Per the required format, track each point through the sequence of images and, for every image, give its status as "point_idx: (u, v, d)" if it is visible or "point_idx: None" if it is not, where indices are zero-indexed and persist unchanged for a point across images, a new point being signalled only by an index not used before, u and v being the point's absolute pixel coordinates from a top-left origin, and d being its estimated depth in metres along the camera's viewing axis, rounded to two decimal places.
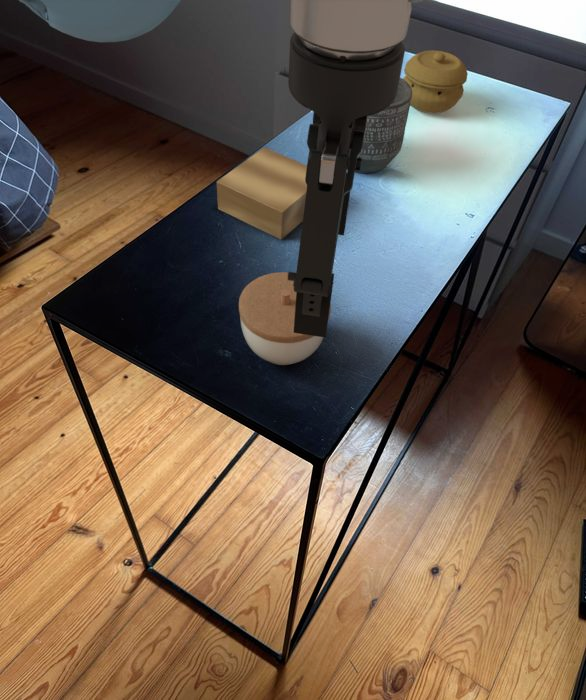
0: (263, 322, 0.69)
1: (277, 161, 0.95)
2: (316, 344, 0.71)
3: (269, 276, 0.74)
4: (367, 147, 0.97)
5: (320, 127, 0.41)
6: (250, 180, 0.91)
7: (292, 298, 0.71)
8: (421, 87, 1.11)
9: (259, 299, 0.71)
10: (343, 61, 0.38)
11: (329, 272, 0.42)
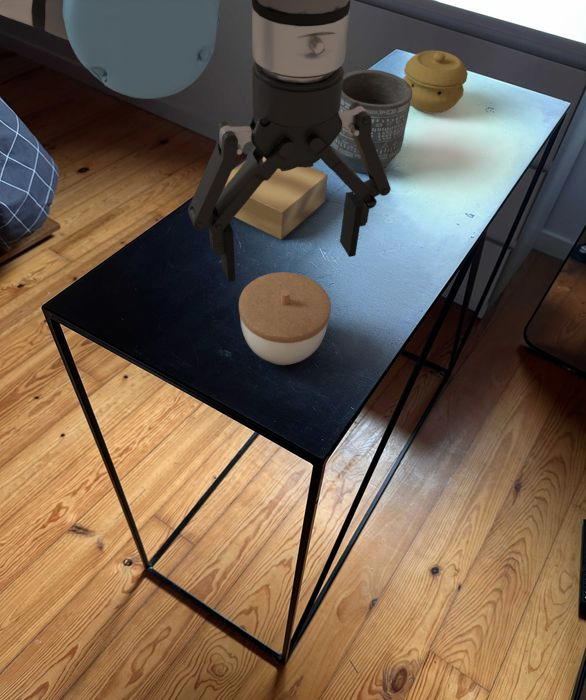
0: (263, 322, 0.69)
1: None
2: (316, 344, 0.71)
3: (269, 276, 0.74)
4: None
5: None
6: None
7: (292, 298, 0.71)
8: (421, 87, 1.11)
9: (259, 299, 0.71)
10: (260, 70, 0.49)
11: (199, 211, 0.56)
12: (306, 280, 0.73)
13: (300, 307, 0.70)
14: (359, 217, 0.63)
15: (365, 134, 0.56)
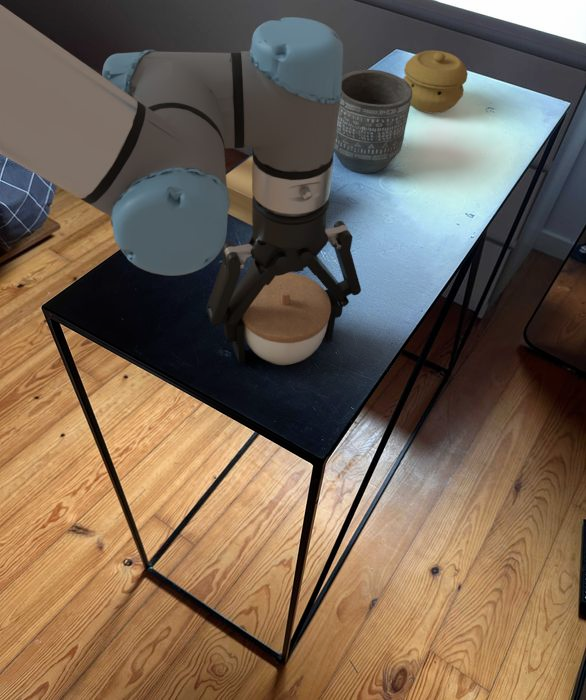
0: (263, 322, 0.69)
1: None
2: (316, 344, 0.71)
3: None
4: (367, 147, 0.97)
5: (253, 233, 0.63)
6: (250, 180, 0.91)
7: (292, 298, 0.71)
8: (421, 87, 1.11)
9: (259, 299, 0.71)
10: (259, 203, 0.59)
11: (214, 312, 0.67)
12: (306, 280, 0.73)
13: (300, 307, 0.70)
14: (334, 312, 0.73)
15: (345, 248, 0.66)
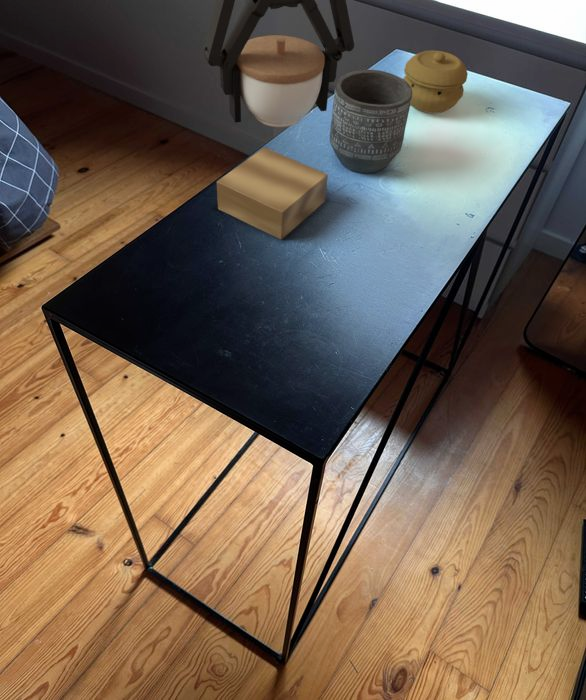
0: (259, 65, 0.71)
1: (277, 161, 0.95)
2: (310, 95, 0.73)
3: (265, 37, 0.76)
4: (367, 147, 0.97)
5: None
6: (250, 180, 0.91)
7: (287, 50, 0.73)
8: (421, 87, 1.11)
9: (255, 50, 0.73)
10: None
11: (211, 47, 0.69)
12: (301, 40, 0.75)
13: (294, 56, 0.72)
14: (328, 70, 0.75)
15: None
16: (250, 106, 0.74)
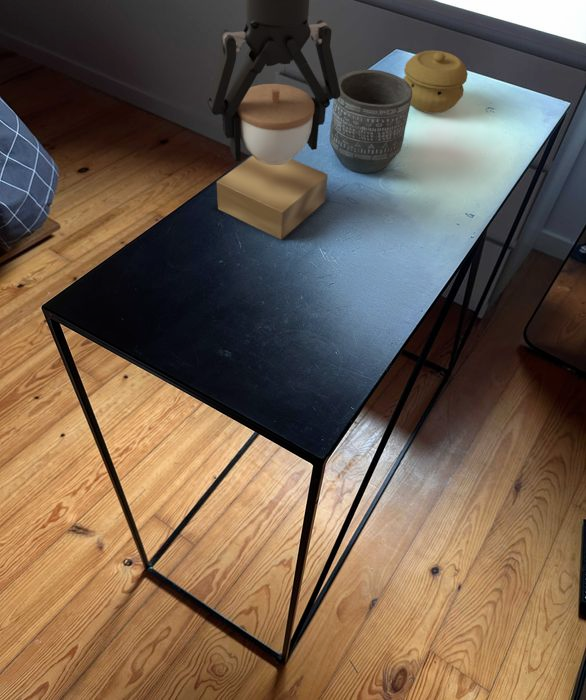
0: (256, 113, 0.80)
1: None
2: (302, 138, 0.83)
3: (262, 85, 0.85)
4: (367, 147, 0.97)
5: None
6: (250, 180, 0.91)
7: (281, 99, 0.83)
8: (421, 87, 1.11)
9: (253, 99, 0.83)
10: None
11: (214, 99, 0.78)
12: (294, 88, 0.85)
13: (288, 104, 0.82)
14: (318, 115, 0.85)
15: (325, 43, 0.78)
16: (249, 147, 0.84)
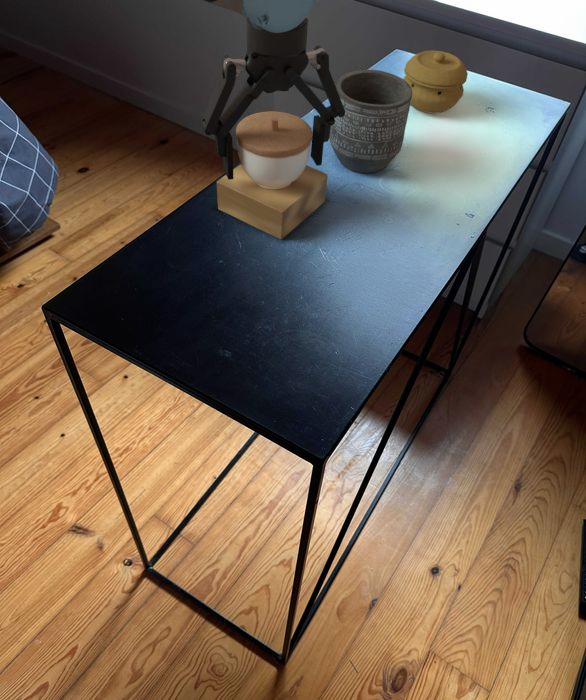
0: (256, 141, 0.83)
1: None
2: (300, 165, 0.86)
3: (261, 113, 0.89)
4: (367, 147, 0.97)
5: (247, 52, 0.77)
6: (250, 180, 0.91)
7: (280, 127, 0.86)
8: (421, 87, 1.11)
9: (253, 127, 0.86)
10: None
11: (208, 120, 0.80)
12: (292, 116, 0.88)
13: (286, 132, 0.85)
14: (323, 133, 0.87)
15: (324, 68, 0.80)
16: (249, 173, 0.87)
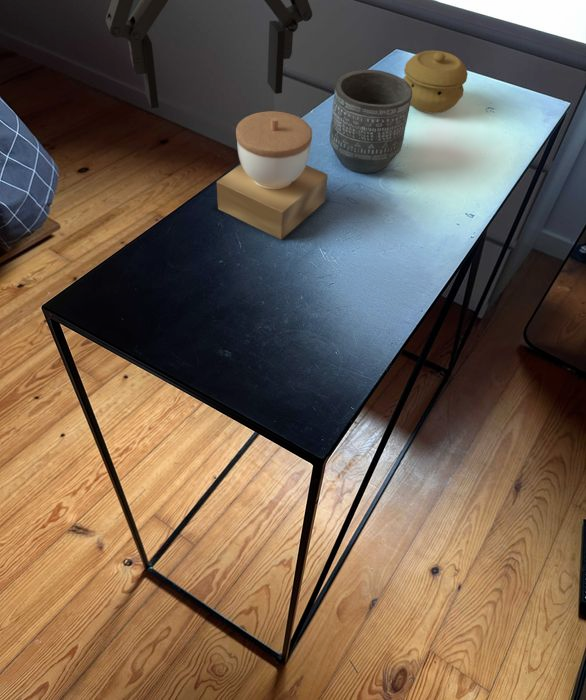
0: (256, 141, 0.83)
1: None
2: (300, 165, 0.86)
3: (261, 113, 0.89)
4: (367, 147, 0.97)
5: None
6: (250, 180, 0.91)
7: (280, 127, 0.86)
8: (421, 87, 1.11)
9: (253, 127, 0.86)
10: None
11: (114, 13, 0.56)
12: (292, 116, 0.88)
13: (286, 132, 0.85)
14: (282, 44, 0.63)
15: None
16: (249, 173, 0.87)
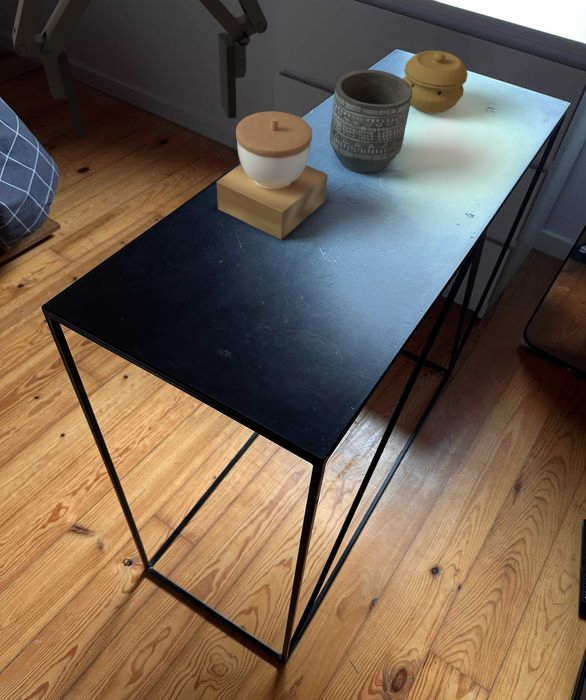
0: (256, 141, 0.83)
1: None
2: (300, 165, 0.86)
3: (261, 113, 0.89)
4: (367, 147, 0.97)
5: None
6: (250, 180, 0.91)
7: (280, 127, 0.86)
8: (421, 87, 1.11)
9: (253, 127, 0.86)
10: None
11: (17, 28, 0.46)
12: (292, 116, 0.88)
13: (286, 132, 0.85)
14: (232, 61, 0.53)
15: None
16: (249, 173, 0.87)
